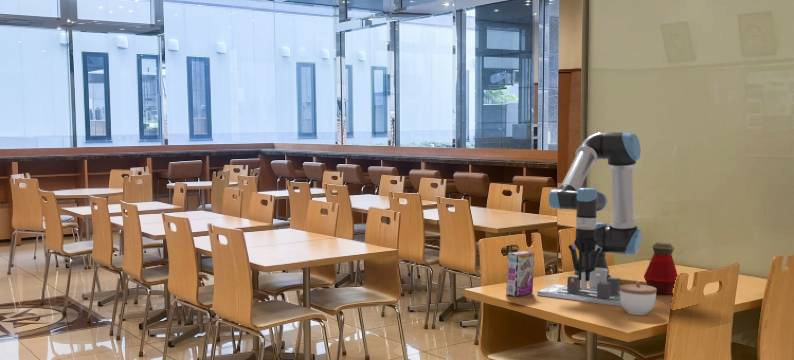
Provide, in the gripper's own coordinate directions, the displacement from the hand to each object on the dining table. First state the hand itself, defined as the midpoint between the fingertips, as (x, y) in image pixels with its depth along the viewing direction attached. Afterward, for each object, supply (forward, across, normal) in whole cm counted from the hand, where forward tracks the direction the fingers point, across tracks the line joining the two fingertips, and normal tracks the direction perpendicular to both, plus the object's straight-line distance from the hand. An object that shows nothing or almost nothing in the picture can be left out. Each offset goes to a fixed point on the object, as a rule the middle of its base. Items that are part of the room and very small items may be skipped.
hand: (583, 288), depth 302 cm
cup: (+3, 0, +18) cm, 18 cm away
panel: (+3, +2, 0) cm, 3 cm away
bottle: (+3, +23, +27) cm, 35 cm away
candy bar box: (+3, -21, -12) cm, 25 cm away
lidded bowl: (+3, +24, -16) cm, 30 cm away
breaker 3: (+1, +10, +6) cm, 11 cm away
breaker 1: (+1, -4, 0) cm, 4 cm away
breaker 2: (+1, +10, -6) cm, 11 cm away
